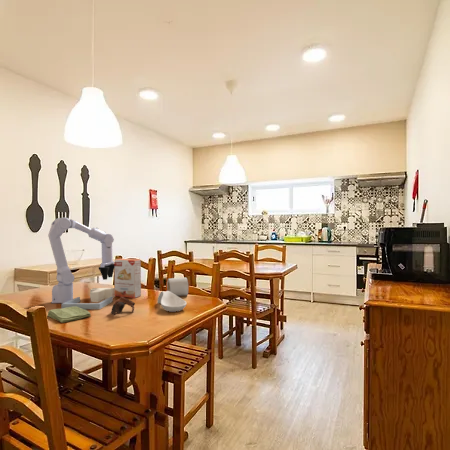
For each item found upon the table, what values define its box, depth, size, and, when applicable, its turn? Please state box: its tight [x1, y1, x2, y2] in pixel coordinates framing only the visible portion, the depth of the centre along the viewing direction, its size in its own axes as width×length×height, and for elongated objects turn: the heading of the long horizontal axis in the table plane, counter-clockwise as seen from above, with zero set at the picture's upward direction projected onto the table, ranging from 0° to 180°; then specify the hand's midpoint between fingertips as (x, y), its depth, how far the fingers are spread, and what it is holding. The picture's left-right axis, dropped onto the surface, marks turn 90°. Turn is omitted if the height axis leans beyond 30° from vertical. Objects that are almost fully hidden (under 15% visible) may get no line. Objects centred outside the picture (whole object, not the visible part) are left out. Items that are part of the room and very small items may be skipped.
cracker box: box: [114, 258, 142, 299], centre depth 178 cm, size 14×6×21 cm, turn 68°
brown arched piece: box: [110, 297, 136, 316], centre depth 141 cm, size 12×10×8 cm
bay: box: [61, 296, 114, 310], centre depth 158 cm, size 18×16×2 cm
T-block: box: [89, 287, 116, 303], centre depth 171 cm, size 12×12×5 cm
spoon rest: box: [157, 290, 187, 313], centre depth 151 cm, size 24×12×7 cm, turn 30°
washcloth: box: [47, 306, 92, 324], centre depth 138 cm, size 13×18×3 cm
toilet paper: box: [166, 277, 189, 297], centre depth 178 cm, size 10×10×10 cm
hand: (107, 278), depth 182 cm, fingers open, 7 cm apart
